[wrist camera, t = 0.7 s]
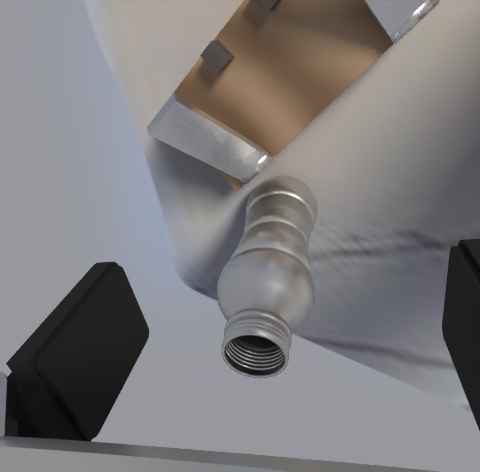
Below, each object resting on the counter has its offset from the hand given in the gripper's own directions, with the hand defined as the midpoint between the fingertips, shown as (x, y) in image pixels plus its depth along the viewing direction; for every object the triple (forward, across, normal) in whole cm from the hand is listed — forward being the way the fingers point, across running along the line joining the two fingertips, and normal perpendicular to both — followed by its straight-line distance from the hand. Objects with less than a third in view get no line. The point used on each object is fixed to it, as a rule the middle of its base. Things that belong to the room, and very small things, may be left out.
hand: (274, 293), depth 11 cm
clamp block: (+25, +1, -4) cm, 26 cm away
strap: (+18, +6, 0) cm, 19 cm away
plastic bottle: (+25, +3, +9) cm, 27 cm away
